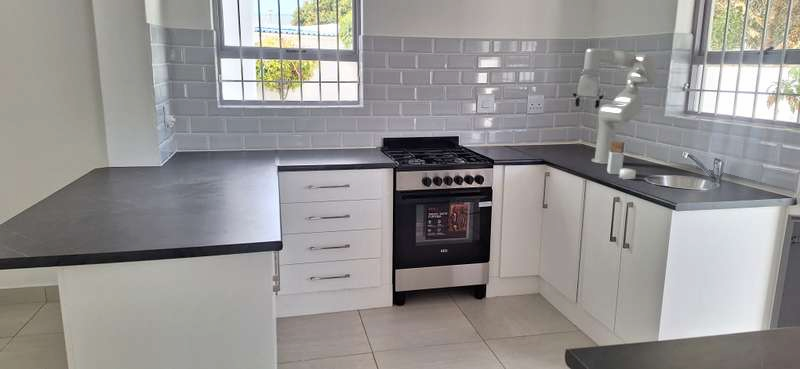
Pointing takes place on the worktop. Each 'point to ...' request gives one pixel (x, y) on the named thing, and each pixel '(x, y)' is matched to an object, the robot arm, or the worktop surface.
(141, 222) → the worktop surface
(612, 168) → the small box
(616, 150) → the walnut cube
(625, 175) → the white small lump
